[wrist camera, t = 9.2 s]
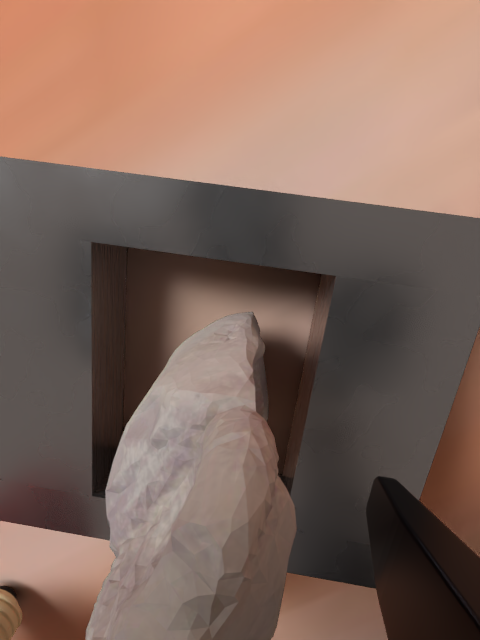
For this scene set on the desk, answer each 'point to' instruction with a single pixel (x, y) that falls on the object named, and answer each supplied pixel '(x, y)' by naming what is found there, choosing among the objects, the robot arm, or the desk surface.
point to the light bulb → (9, 613)
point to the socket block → (320, 361)
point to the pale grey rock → (198, 500)
